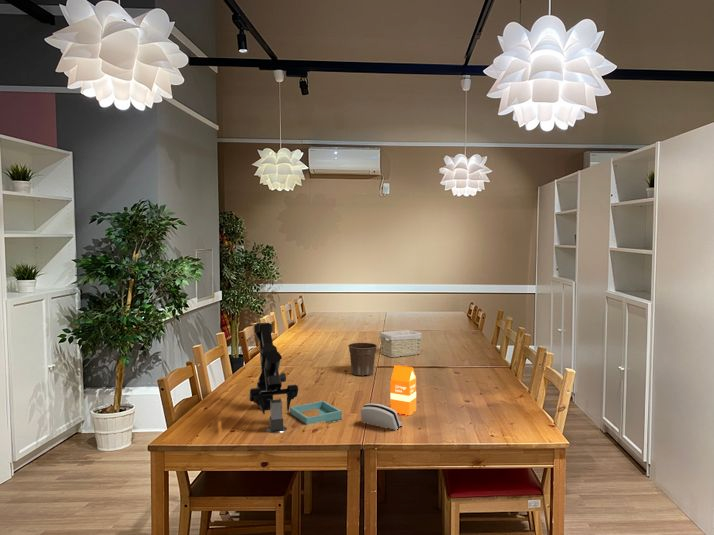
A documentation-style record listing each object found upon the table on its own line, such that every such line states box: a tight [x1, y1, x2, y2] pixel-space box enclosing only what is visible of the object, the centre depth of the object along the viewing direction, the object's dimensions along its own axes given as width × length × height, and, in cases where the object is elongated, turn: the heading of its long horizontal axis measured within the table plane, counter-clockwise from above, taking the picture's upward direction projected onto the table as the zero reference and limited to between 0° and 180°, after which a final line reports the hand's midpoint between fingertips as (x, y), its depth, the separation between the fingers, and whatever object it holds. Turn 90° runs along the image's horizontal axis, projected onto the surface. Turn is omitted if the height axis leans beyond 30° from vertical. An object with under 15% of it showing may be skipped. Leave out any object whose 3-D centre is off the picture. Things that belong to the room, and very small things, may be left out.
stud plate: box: [265, 425, 288, 434], centre depth 190 cm, size 8×8×5 cm
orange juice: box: [390, 364, 417, 416], centre depth 214 cm, size 8×9×20 cm
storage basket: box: [379, 329, 423, 358], centre depth 324 cm, size 24×16×15 cm
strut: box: [269, 398, 284, 432], centre depth 190 cm, size 5×5×11 cm
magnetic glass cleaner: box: [360, 403, 403, 431], centre depth 198 cm, size 17×5×10 cm, turn 56°
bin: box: [289, 400, 343, 426], centre depth 206 cm, size 16×16×4 cm
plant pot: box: [347, 342, 378, 377], centre depth 276 cm, size 16×16×16 cm
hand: (276, 412), depth 190 cm, fingers open, 9 cm apart
